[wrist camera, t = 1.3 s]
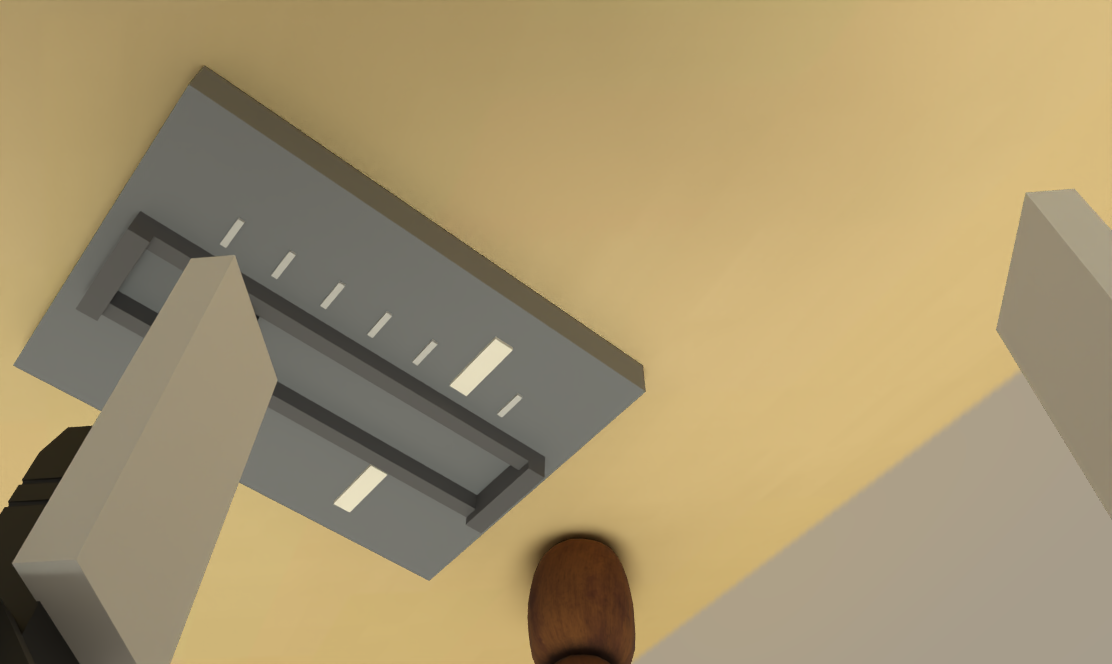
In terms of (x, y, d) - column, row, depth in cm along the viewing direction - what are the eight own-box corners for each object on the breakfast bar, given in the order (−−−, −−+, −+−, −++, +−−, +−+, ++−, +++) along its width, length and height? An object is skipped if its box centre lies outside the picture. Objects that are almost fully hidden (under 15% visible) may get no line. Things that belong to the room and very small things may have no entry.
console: (31, 340, 47) (-3, 385, 45) (204, 65, 39) (176, 99, 36) (433, 553, 56) (426, 602, 53) (642, 365, 48) (647, 411, 45)
